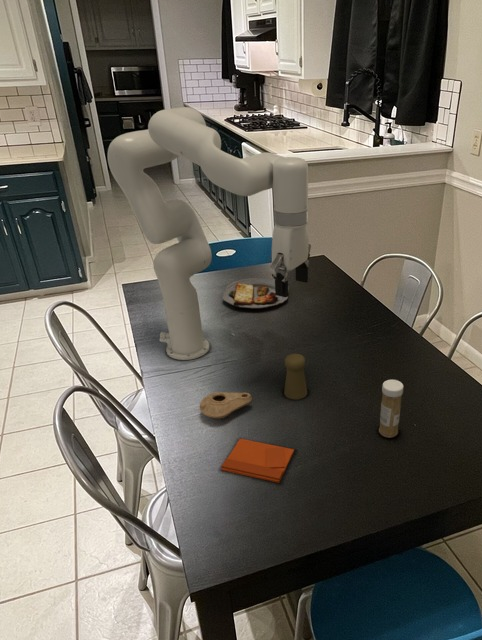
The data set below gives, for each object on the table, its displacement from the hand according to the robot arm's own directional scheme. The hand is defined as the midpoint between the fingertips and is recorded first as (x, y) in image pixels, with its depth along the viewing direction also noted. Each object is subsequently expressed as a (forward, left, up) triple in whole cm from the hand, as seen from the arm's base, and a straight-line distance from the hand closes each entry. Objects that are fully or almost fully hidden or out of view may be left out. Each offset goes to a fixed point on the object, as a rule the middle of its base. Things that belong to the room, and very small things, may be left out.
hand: (292, 288), depth 120 cm
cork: (+2, -5, -27) cm, 28 cm away
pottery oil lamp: (-11, -18, -27) cm, 35 cm away
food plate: (-29, +47, -27) cm, 62 cm away
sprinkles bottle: (+28, -14, -27) cm, 41 cm away
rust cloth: (+2, -31, -27) cm, 41 cm away
